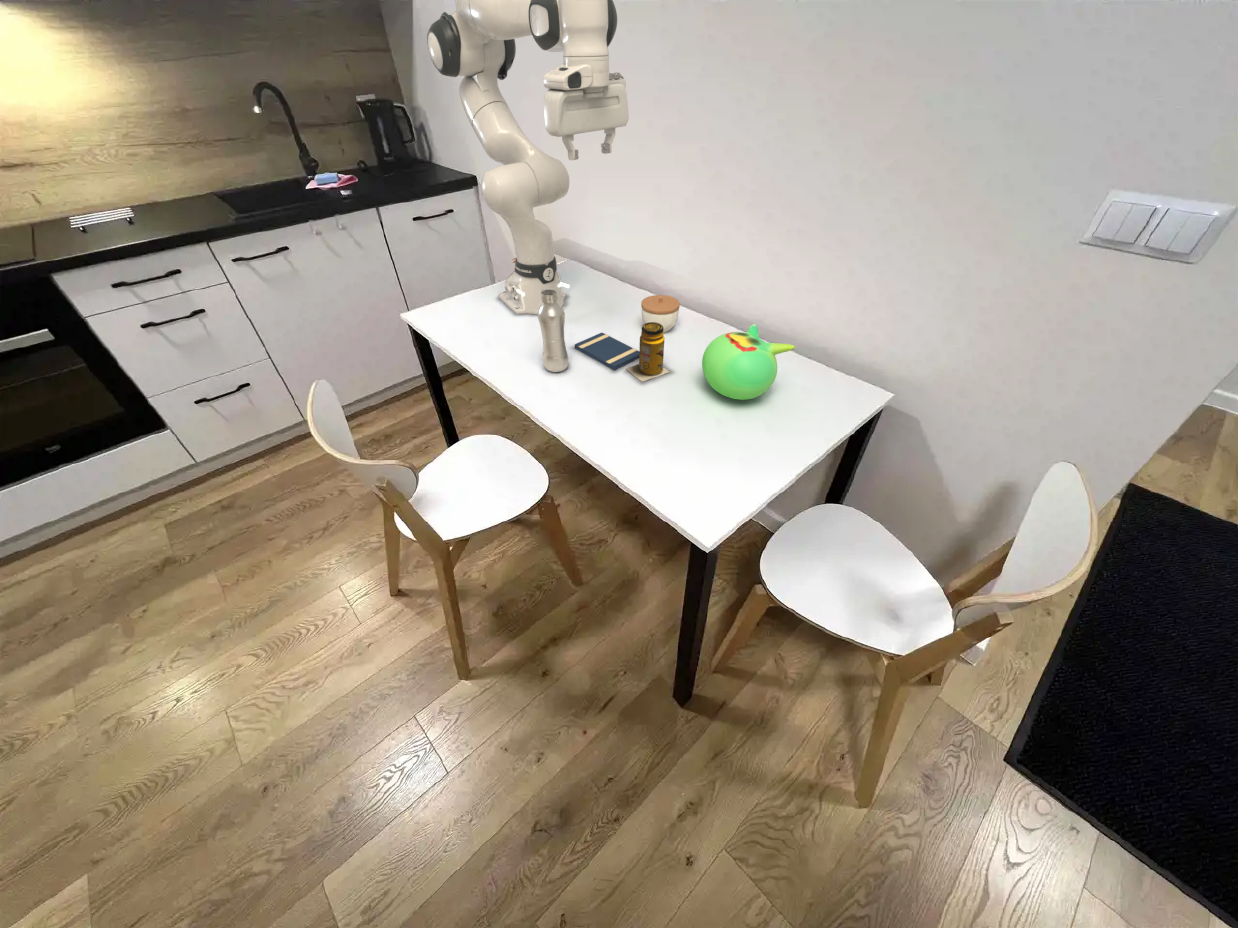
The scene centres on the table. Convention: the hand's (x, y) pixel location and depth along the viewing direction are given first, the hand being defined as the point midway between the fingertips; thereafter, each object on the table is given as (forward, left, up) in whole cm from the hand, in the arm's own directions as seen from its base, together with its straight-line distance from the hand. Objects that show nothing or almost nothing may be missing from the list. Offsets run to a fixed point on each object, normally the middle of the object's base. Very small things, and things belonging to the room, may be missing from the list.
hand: (590, 156), depth 106 cm
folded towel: (+6, -1, -44) cm, 45 cm away
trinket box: (+6, +19, -45) cm, 49 cm away
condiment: (+20, 0, -45) cm, 49 cm away
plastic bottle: (+3, -16, -45) cm, 48 cm away
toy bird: (+41, +9, -45) cm, 61 cm away
